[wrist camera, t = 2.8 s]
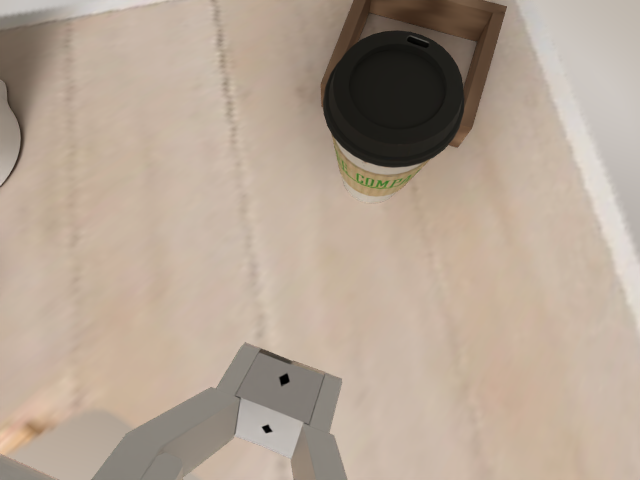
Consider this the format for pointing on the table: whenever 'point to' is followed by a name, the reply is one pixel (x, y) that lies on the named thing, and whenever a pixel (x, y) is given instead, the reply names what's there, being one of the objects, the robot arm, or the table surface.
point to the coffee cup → (391, 110)
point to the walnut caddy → (441, 15)
